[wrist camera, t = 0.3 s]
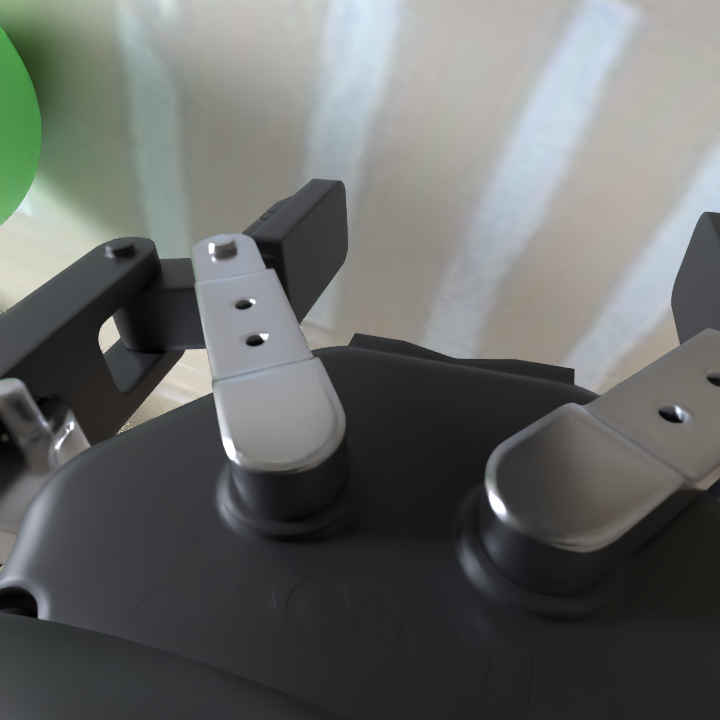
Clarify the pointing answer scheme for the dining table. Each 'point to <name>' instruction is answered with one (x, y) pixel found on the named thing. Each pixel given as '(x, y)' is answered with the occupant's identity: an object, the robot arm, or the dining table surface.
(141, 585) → the robot arm
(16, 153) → the toy bird
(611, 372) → the dining table surface
